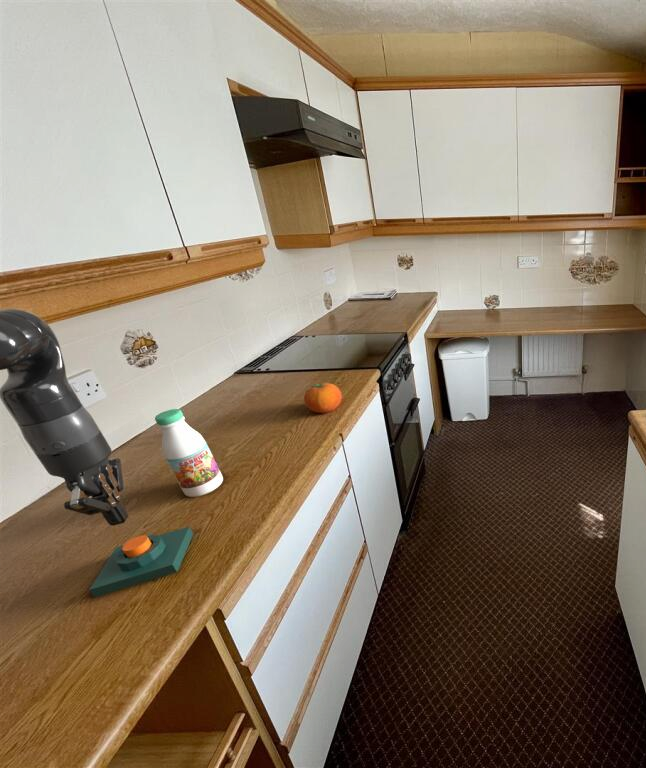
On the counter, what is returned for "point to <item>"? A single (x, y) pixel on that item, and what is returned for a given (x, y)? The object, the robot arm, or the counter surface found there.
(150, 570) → the cap housing
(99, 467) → the robot arm
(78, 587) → the counter surface
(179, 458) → the milk bottle
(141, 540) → the orange push button
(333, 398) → the fruit
